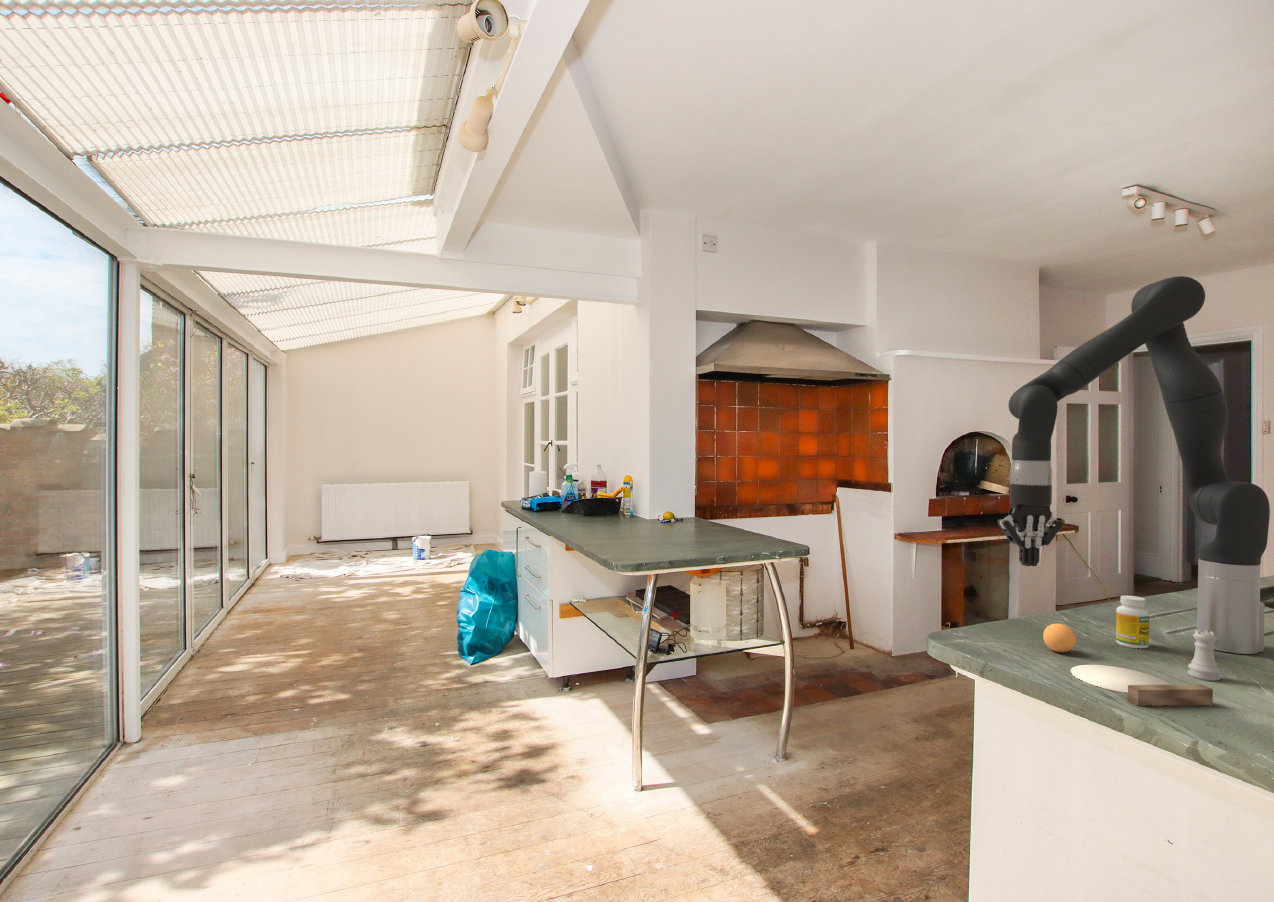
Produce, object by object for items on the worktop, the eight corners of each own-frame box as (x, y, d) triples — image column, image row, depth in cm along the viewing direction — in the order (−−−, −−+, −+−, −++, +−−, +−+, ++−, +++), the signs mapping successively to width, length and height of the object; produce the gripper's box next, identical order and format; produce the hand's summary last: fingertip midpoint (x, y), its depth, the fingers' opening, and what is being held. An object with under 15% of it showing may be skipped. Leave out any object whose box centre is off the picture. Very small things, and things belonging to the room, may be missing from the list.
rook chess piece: (1213, 674, 115) (1214, 629, 115) (1226, 683, 111) (1227, 636, 111) (1182, 671, 117) (1183, 626, 117) (1194, 679, 113) (1195, 633, 112)
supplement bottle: (1122, 639, 136) (1123, 593, 136) (1153, 646, 131) (1154, 598, 131) (1110, 643, 133) (1111, 596, 133) (1142, 650, 128) (1143, 602, 128)
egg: (1063, 647, 130) (1063, 620, 130) (1082, 656, 125) (1083, 627, 125) (1036, 647, 130) (1037, 620, 130) (1055, 656, 124) (1055, 627, 124)
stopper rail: (1200, 700, 103) (1201, 684, 103) (1212, 705, 101) (1212, 689, 101) (1127, 700, 103) (1127, 684, 103) (1137, 705, 101) (1138, 689, 101)
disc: (1126, 665, 119) (1126, 664, 119) (1195, 695, 106) (1195, 693, 106) (1052, 665, 119) (1052, 664, 119) (1111, 695, 105) (1111, 694, 105)
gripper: (1010, 483, 132) (1008, 569, 132) (1074, 483, 133) (1073, 569, 133) (988, 481, 140) (987, 562, 140) (1049, 481, 140) (1048, 562, 140)
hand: (1029, 565), depth 136 cm, fingers closed
